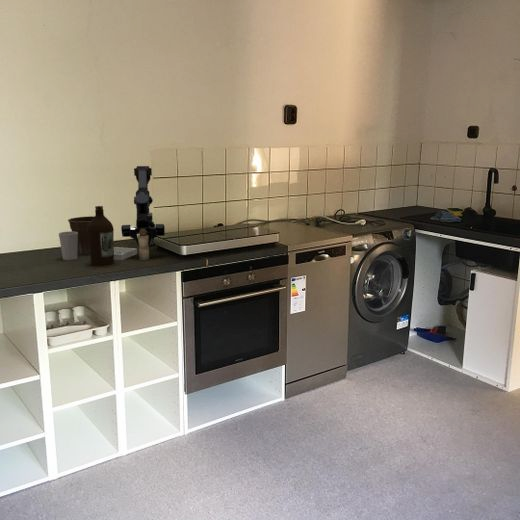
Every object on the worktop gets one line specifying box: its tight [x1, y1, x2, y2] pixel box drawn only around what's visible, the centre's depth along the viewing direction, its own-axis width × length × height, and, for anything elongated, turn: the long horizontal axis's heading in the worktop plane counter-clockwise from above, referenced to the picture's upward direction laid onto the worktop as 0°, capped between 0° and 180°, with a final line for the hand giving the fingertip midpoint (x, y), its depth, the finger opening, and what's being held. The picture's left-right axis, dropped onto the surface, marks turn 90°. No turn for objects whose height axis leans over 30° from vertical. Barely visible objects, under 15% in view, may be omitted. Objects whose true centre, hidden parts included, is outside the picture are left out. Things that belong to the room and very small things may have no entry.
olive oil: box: [87, 205, 115, 267], centre depth 246 cm, size 11×11×25 cm
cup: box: [58, 230, 78, 261], centre depth 257 cm, size 8×8×12 cm
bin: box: [114, 246, 138, 261], centre depth 263 cm, size 14×12×3 cm
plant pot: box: [67, 215, 95, 255], centre depth 271 cm, size 16×16×16 cm
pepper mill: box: [137, 228, 150, 261], centre depth 256 cm, size 4×4×14 cm
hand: (143, 246), depth 255 cm, fingers closed on pepper mill, 4 cm apart
